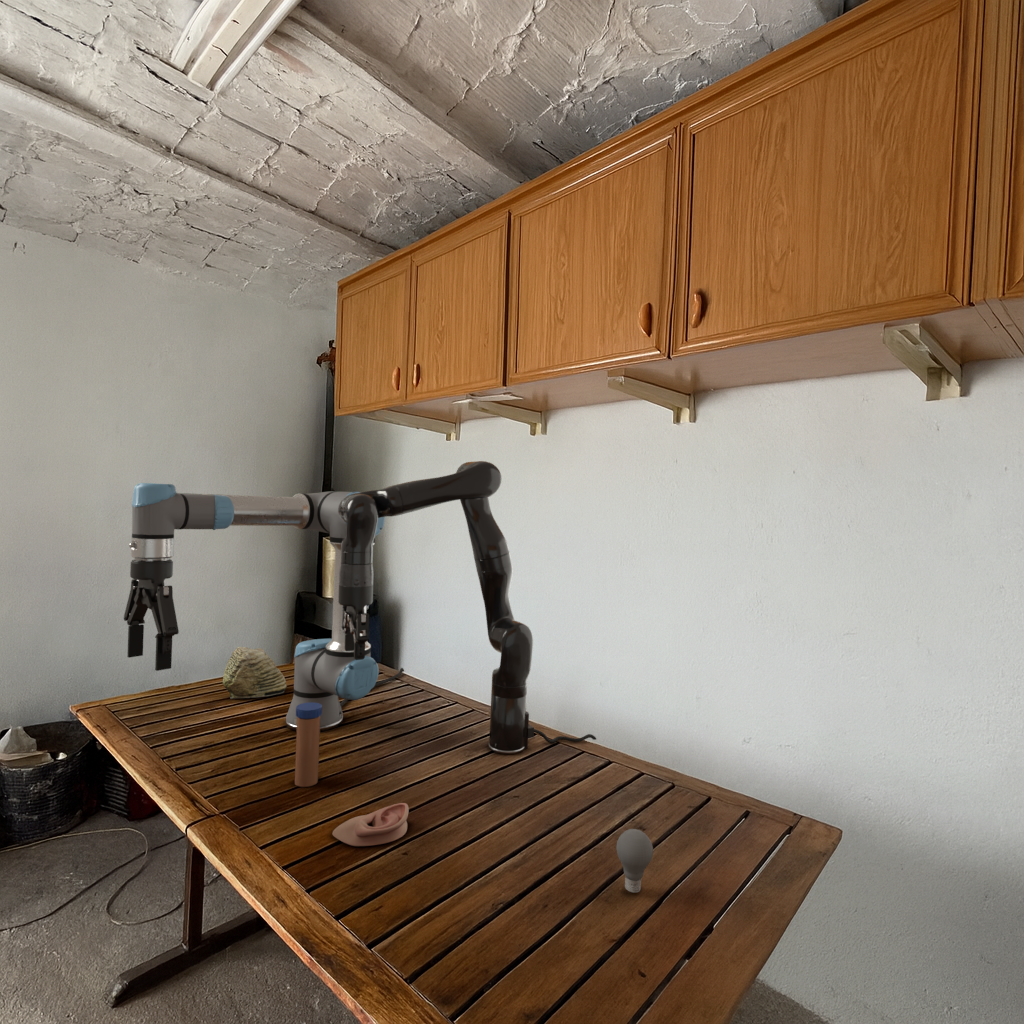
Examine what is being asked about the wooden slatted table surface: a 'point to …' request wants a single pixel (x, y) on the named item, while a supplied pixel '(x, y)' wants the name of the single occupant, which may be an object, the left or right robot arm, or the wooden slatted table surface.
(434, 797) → the wooden slatted table surface
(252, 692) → the fossil
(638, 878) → the light bulb
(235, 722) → the wooden slatted table surface
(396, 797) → the wooden slatted table surface
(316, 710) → the lid
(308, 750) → the brown tall cylinder
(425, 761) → the wooden slatted table surface
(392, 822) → the anatomical model
